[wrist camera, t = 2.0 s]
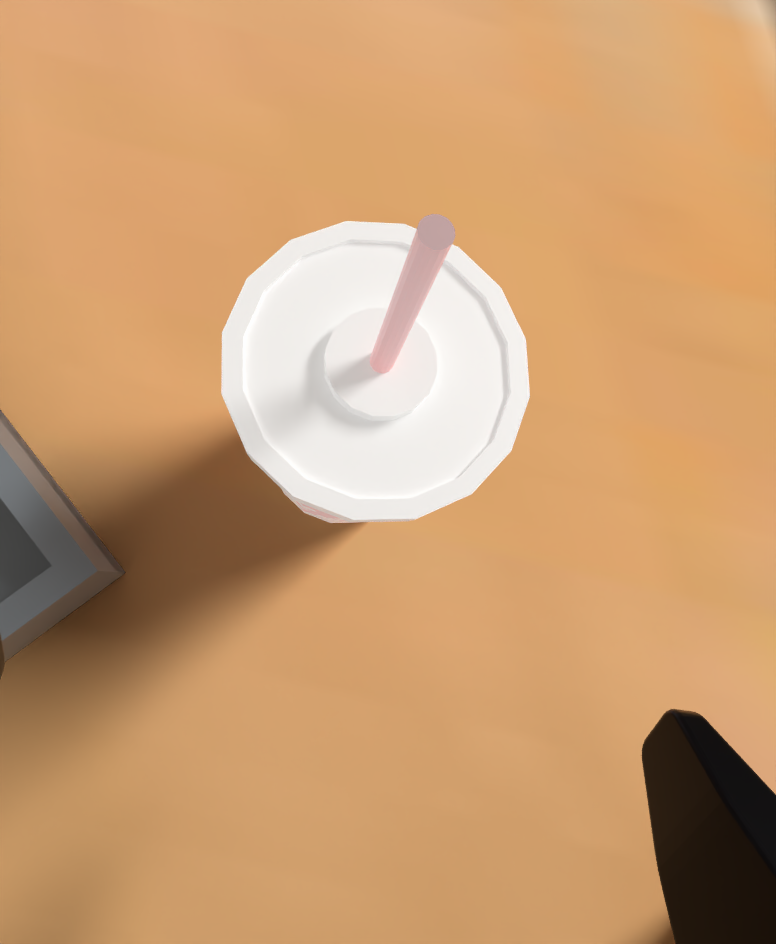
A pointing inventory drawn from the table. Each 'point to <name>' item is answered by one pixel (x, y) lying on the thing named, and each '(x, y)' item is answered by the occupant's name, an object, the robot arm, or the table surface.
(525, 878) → the table surface
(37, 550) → the tray
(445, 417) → the beverage cup
